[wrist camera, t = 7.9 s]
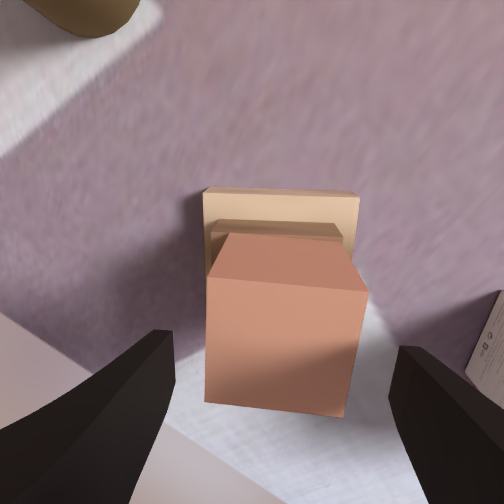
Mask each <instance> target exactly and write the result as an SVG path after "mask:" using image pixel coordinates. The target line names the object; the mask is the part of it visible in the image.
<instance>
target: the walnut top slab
mask: <svg viewBox="0 0 504 504" xmlns="http://www.w3.org/2000/svg"><path fill="white" fill-rule="evenodd" d="M229 233H242V234H254V235H265V236H277V237H288V238H300V239H312V240H323V241H335V242H341V244H342V246H343V236H342V234H341V233H340V231H339V230H338V228H337V226H336V225H335V223H322V222H294V221H266V220H238V219H219V220H218V222H217V223H216V225H215V226H214V228H213V229H212V231H211V265H212V266H213V264H214V262H215V260H216V258H217V257H218V255H219V253H220V251H221V249H222V247H223V245H224V243H225V241H226V239H227V237H228V235H229Z"/></svg>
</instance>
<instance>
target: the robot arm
mask: <svg viewBox="0 0 504 504" xmlns="http://www.w3.org/2000/svg"><path fill="white" fill-rule="evenodd" d="M175 382H176V379H175V363H174V347H173V331H168V330H153V331H151V332H150V333H149V334H147V335H146V336H145V337H143V338H142V339H141V340H140V341H138V342H137V343H136V344H134V345H133V346H132V347H131V348H129V349H128V350H127V351H125V352H124V353H123V354H121V355H120V356H119V357H117V358H116V359H115V360H113V361H112V362H111V363H109V364H108V365H107V366H105V367H104V368H103V369H101V370H100V371H98V372H97V373H95V374H94V375H92V376H91V377H90V378H88V379H87V380H85V381H84V382H82V383H81V384H79V385H78V386H76V387H75V388H73V389H72V390H70V391H69V392H67V393H66V394H64V395H62V396H61V397H59V398H57V399H56V400H54V401H52V402H51V403H49V404H47V405H45V406H44V407H42V408H40V409H39V410H37V411H35V412H33V413H32V414H30V415H28V416H26V417H24V418H22V419H20V420H18V421H16V422H14V423H12V424H10V425H8V426H6V427H4V428H2V429H1V430H0V504H129V501H130V499H131V496H132V494H133V491H134V488H135V486H136V483H137V481H138V479H139V476H140V474H141V472H142V469H143V467H144V465H145V462H146V460H147V458H148V455H149V453H150V451H151V448H152V446H153V444H154V441H155V439H156V437H157V434H158V432H159V430H160V427H161V425H162V422H163V420H164V418H165V415H166V413H167V410H168V407H169V403H170V400H171V396H172V393H173V389H174V386H175ZM388 398H389V402H390V406H391V410H392V413H393V417H394V420H395V423H396V427H397V430H398V432H399V435H400V437H401V440H402V442H403V445H404V447H405V449H406V452H407V454H408V456H409V459H410V461H411V463H412V466H413V468H414V470H415V473H416V475H417V477H418V480H419V482H420V484H421V487H422V489H423V491H424V494H425V496H426V498H427V501H428V503H429V504H504V409H503V408H501V407H500V406H499V405H497V404H496V403H495V402H493V401H492V400H490V399H489V398H488V397H486V396H485V395H484V394H482V393H481V392H479V391H478V390H477V389H475V388H474V387H473V386H472V385H470V384H469V383H468V382H466V381H465V380H464V379H462V378H461V377H460V376H458V375H457V374H456V373H454V372H453V371H452V370H451V369H449V368H448V367H447V366H445V365H444V364H443V363H441V362H440V361H439V360H437V359H436V358H435V357H434V356H432V355H431V354H429V353H428V352H427V351H425V350H424V349H422V348H421V347H414V346H400V347H399V351H398V356H397V360H396V364H395V369H394V373H393V378H392V382H391V387H390V391H389V396H388Z"/></svg>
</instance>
